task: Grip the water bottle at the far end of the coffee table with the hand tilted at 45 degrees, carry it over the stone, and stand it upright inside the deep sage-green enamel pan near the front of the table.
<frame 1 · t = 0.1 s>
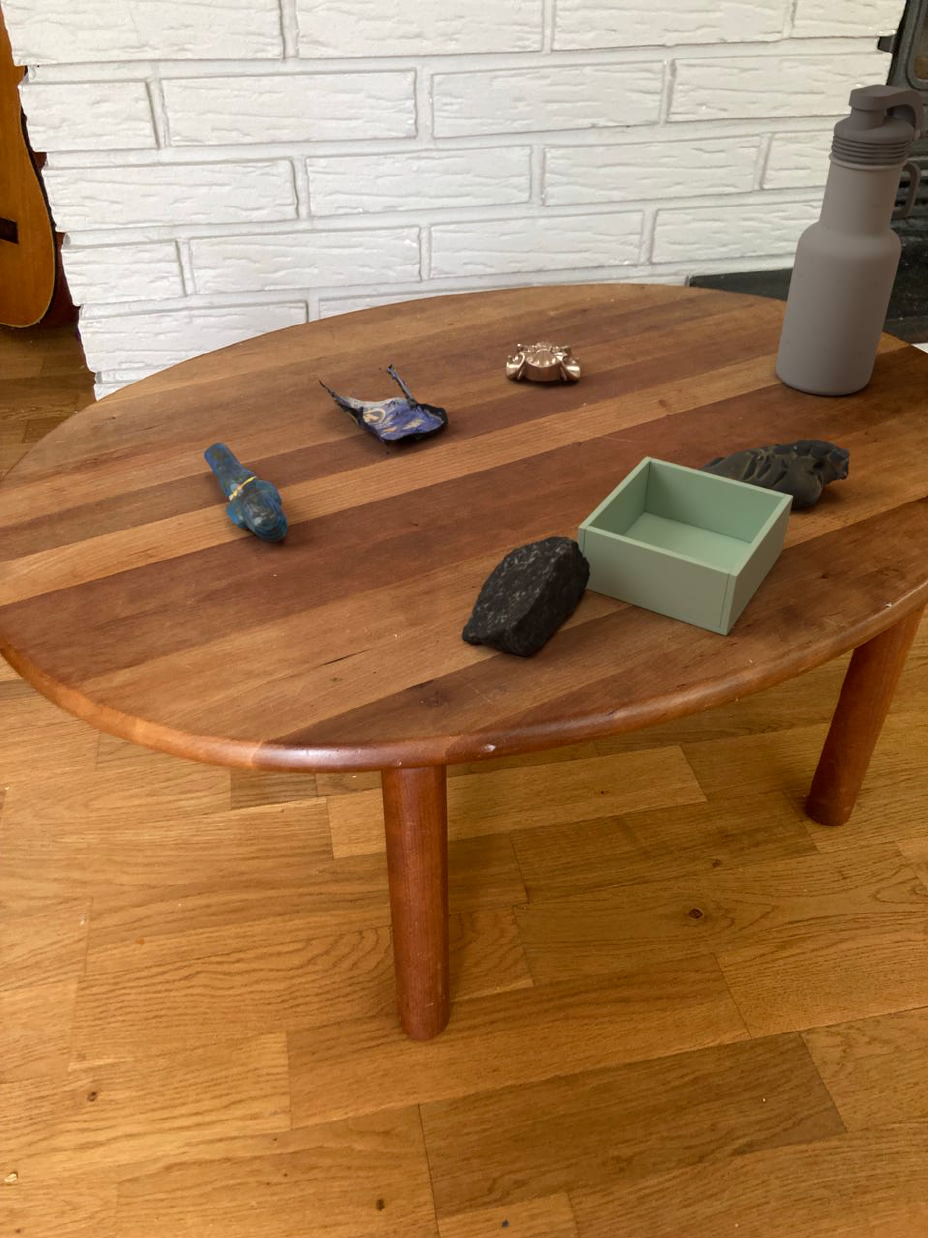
water bottle: (821, 379, 111), on the table
figurine: (244, 510, 92), on the table
ornament: (542, 377, 113), on the table
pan: (679, 568, 84), on the table
rock: (528, 620, 79), on the table
stone: (764, 496, 93), on the table
snack package: (386, 428, 104), on the table
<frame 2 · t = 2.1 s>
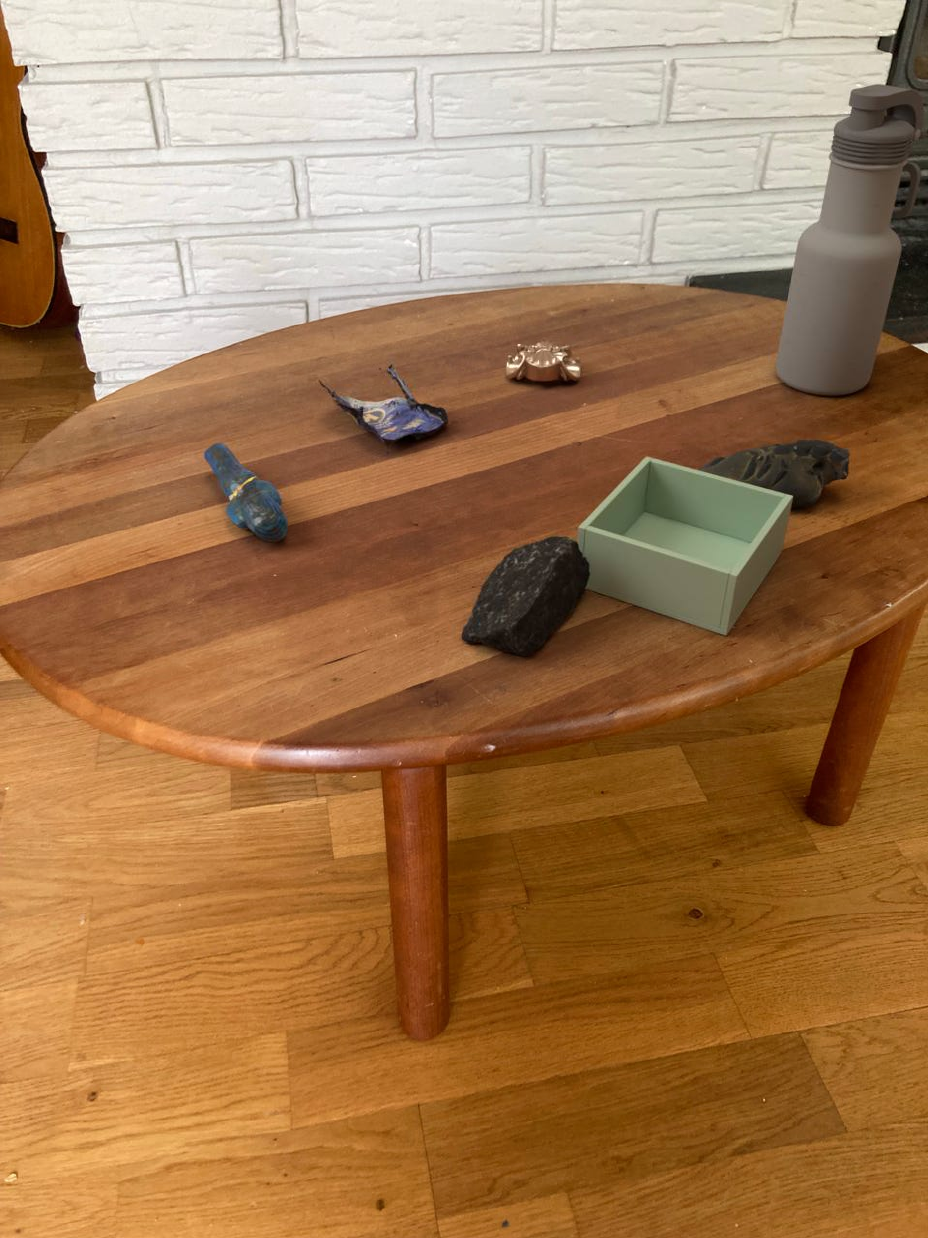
nothing on the table moved.
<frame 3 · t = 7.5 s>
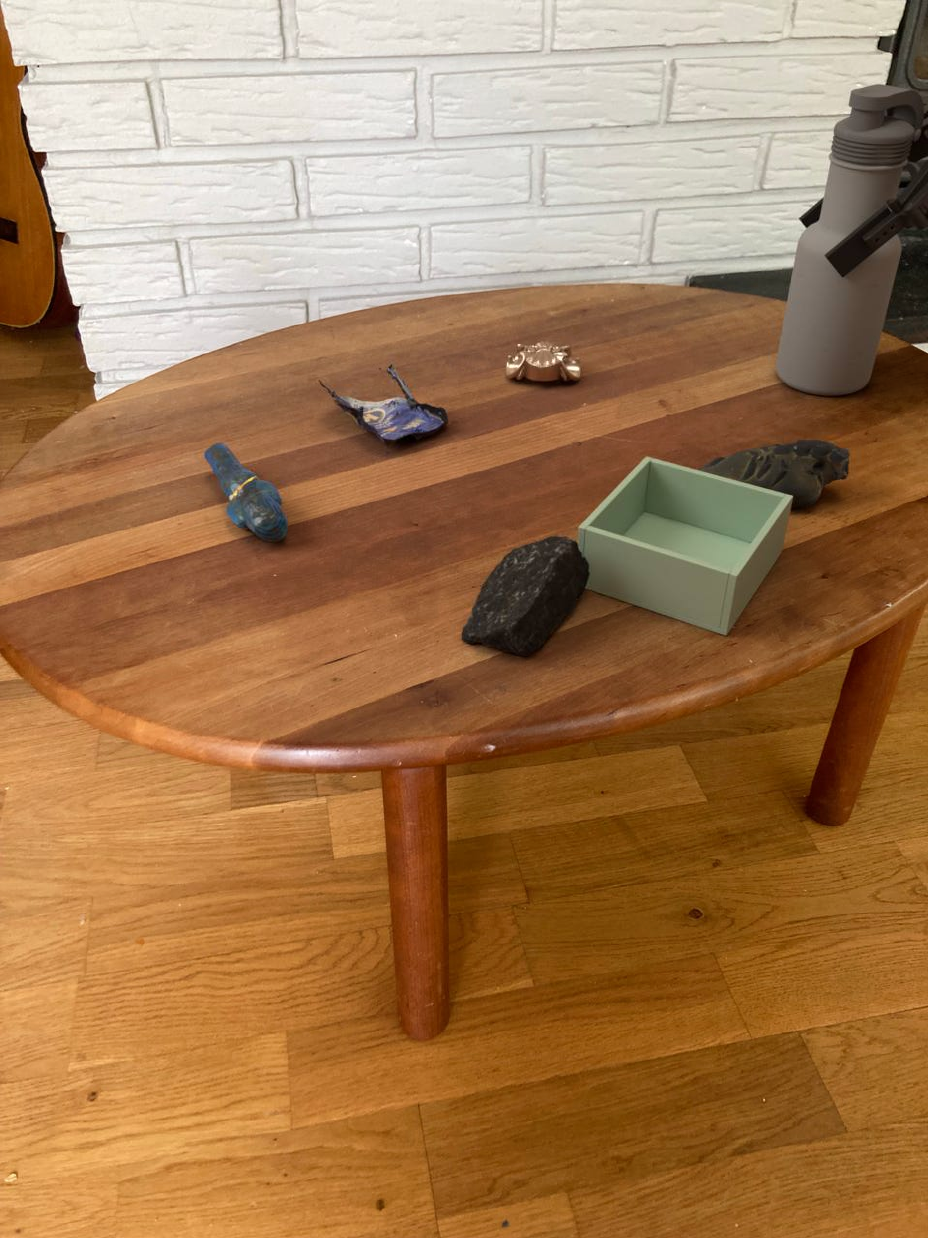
hand: (819, 246, 103), 14 cm above the table, tool tilted 45°, fingers closed on water bottle, 10 cm apart
water bottle: (821, 378, 111), on the table, touching gripper
everything else where it was.
when the fingers open (14 cm above the table, at t = 20.7 s): water bottle stays where it is, resting on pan.
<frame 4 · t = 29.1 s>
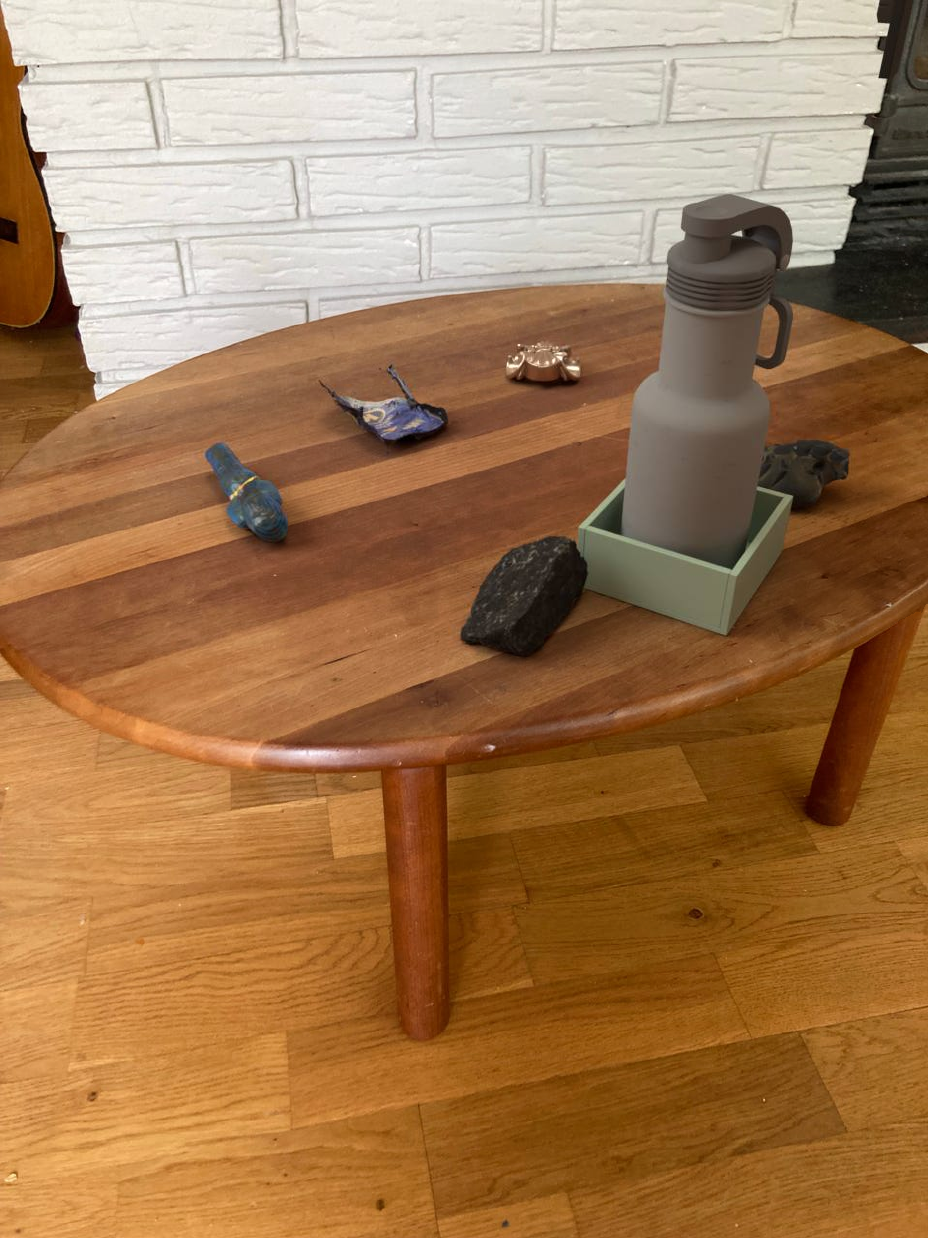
water bottle: (680, 565, 84), resting on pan
everything else where it was.
at the end: water bottle inside the target area in the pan (0.0 cm from its centre), point 0.3 cm above the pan's base; water bottle tilted 0°; the gripper is holding nothing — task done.
